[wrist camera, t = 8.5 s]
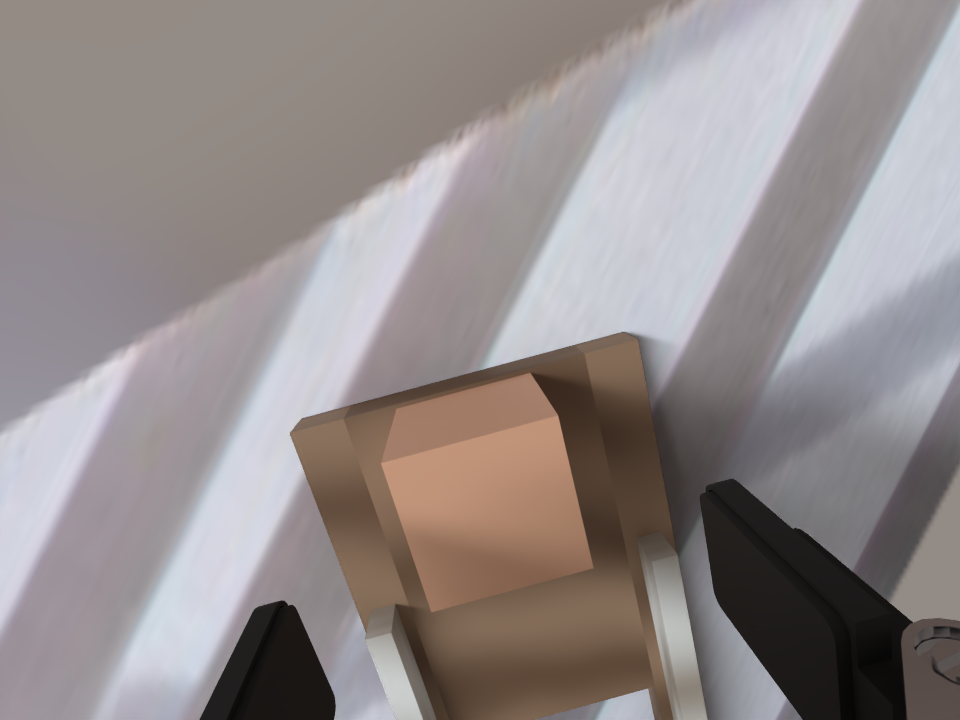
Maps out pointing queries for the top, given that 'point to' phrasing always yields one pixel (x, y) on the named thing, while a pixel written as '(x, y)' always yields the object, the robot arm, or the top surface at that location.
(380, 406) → the tan rectangular frame
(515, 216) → the top surface
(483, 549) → the block
